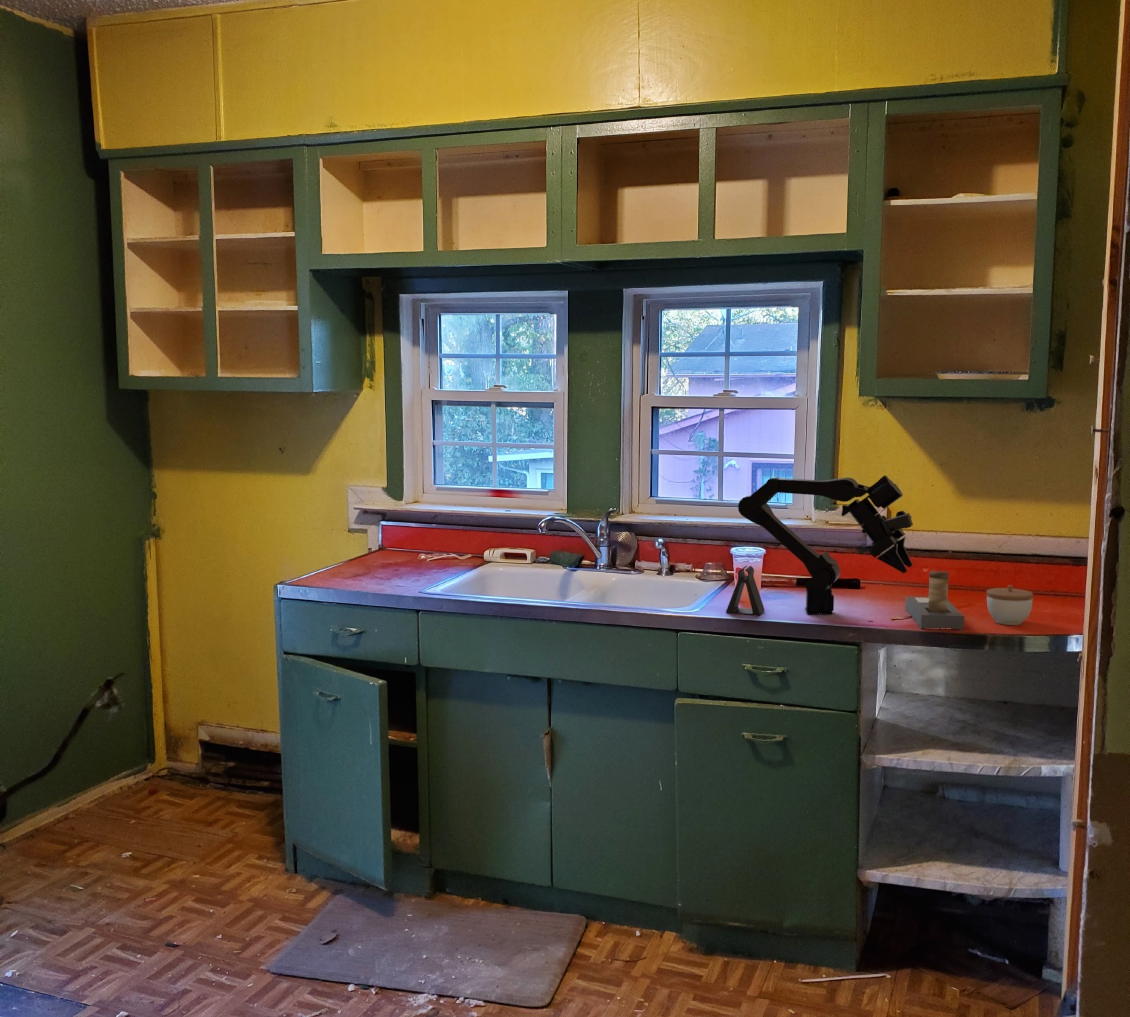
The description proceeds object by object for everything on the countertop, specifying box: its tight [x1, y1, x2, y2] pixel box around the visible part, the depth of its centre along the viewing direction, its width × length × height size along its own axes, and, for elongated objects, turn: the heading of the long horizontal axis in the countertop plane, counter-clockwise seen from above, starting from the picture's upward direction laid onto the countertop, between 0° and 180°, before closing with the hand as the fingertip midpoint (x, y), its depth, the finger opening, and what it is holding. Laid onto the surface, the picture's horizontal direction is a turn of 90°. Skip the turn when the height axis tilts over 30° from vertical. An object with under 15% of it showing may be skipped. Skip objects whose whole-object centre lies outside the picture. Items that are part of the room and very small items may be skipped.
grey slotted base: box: [904, 596, 965, 630], centre depth 266 cm, size 10×22×4 cm, turn 172°
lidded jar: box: [986, 584, 1034, 626], centre depth 262 cm, size 11×11×9 cm
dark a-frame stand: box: [725, 565, 766, 617], centre depth 275 cm, size 9×6×12 cm, turn 67°
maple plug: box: [928, 570, 950, 613], centre depth 261 cm, size 5×5×13 cm
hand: (908, 569), depth 264 cm, fingers open, 9 cm apart
